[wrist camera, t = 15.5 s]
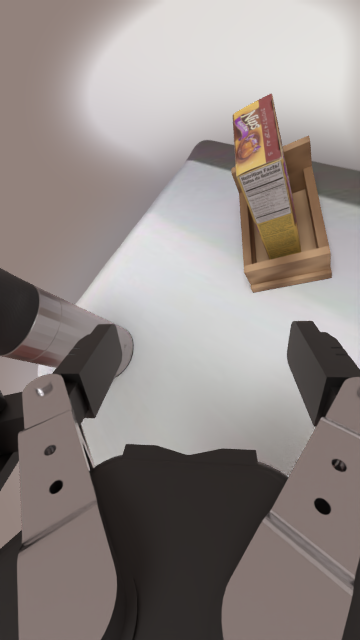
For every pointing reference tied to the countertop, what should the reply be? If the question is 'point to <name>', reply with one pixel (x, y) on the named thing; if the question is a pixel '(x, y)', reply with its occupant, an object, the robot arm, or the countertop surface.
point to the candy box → (265, 177)
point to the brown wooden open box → (310, 228)
